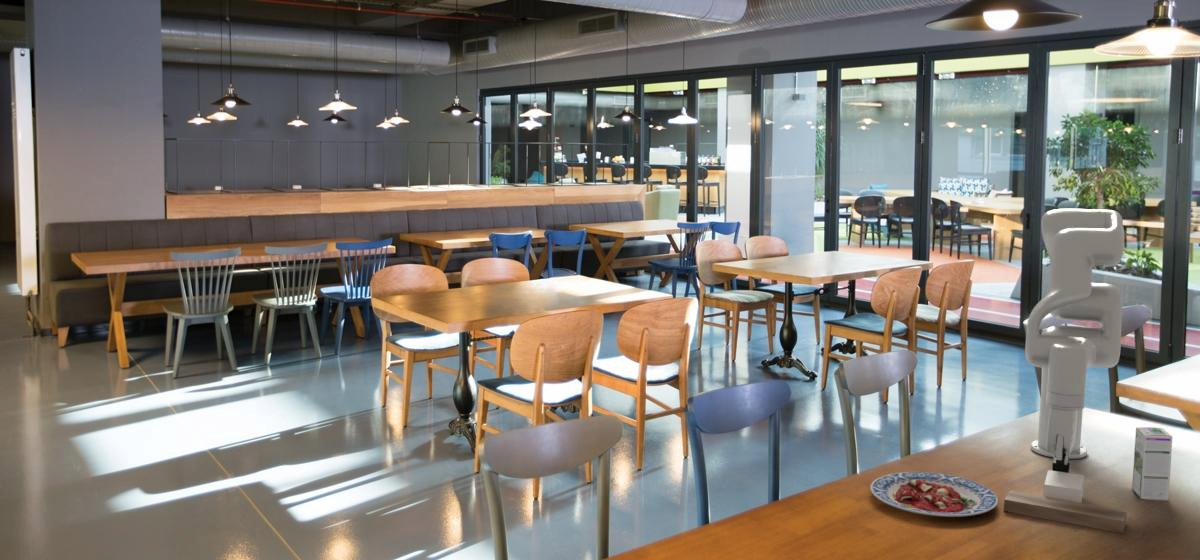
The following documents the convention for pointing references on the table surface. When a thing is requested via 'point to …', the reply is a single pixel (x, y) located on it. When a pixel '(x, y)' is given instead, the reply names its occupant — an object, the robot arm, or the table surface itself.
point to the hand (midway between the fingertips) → (1060, 479)
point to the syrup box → (1152, 463)
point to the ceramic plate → (934, 494)
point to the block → (1064, 486)
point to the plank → (1066, 511)
